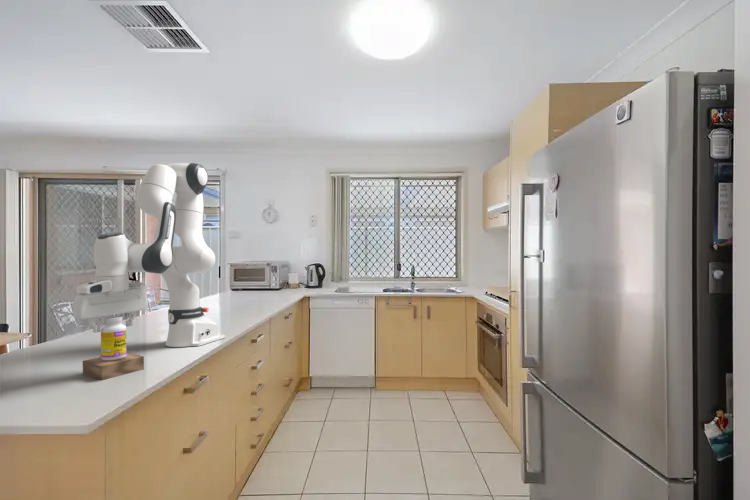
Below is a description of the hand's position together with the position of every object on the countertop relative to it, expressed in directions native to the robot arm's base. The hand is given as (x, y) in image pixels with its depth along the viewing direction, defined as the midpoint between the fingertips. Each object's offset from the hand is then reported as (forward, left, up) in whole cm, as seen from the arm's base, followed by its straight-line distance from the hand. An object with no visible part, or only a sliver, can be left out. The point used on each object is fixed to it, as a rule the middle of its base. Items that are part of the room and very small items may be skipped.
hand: (113, 328), depth 124 cm
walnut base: (0, 0, -13) cm, 13 cm away
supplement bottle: (0, 0, -9) cm, 9 cm away
